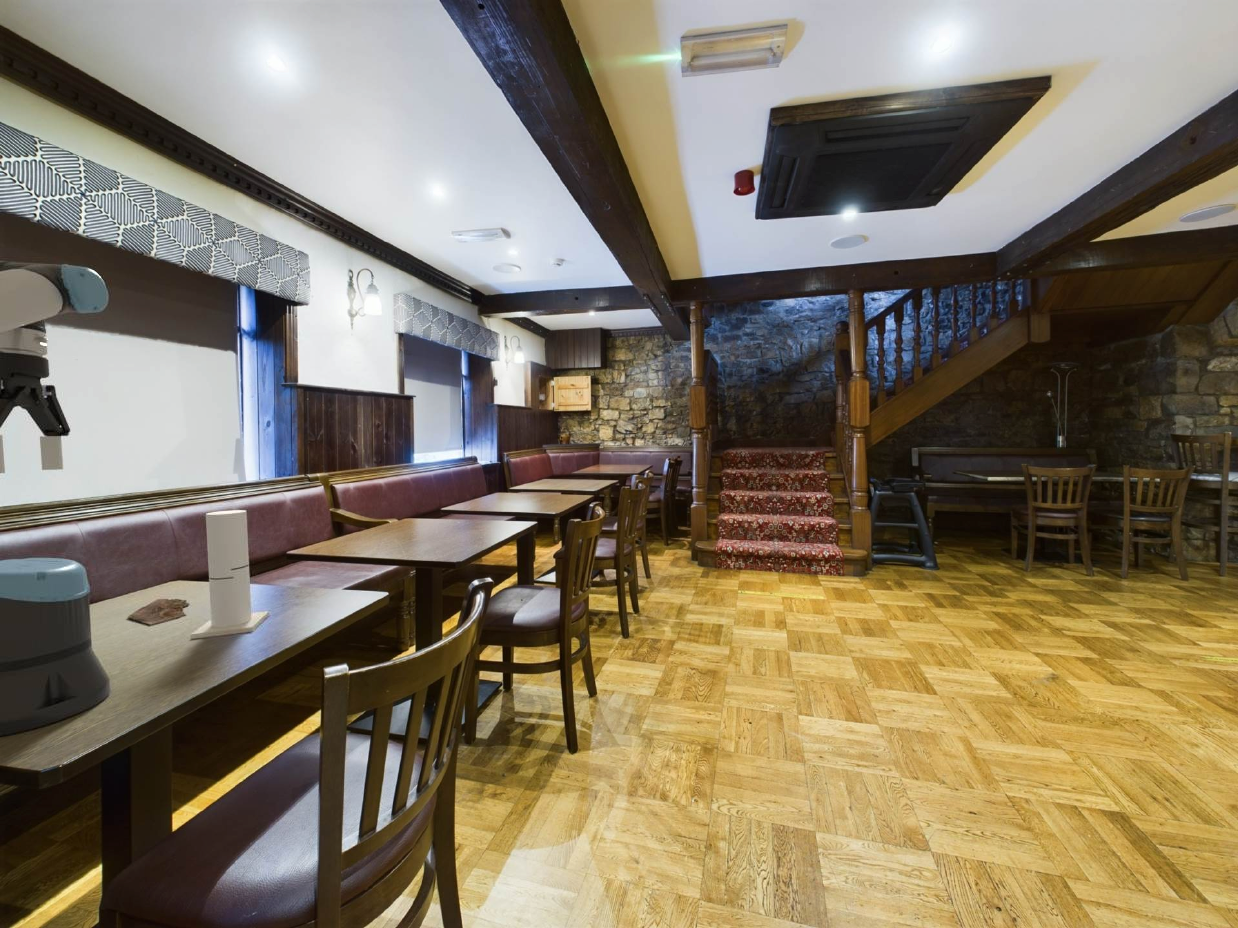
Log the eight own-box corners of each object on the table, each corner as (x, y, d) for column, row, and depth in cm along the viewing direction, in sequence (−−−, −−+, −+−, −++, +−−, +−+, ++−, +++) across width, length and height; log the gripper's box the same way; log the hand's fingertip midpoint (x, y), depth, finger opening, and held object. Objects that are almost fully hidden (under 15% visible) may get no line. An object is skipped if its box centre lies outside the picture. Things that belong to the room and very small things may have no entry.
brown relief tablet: (184, 621, 116) (184, 616, 116) (119, 632, 110) (119, 628, 110) (192, 595, 137) (192, 592, 137) (137, 604, 130) (137, 600, 130)
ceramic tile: (252, 631, 108) (252, 626, 108) (190, 638, 105) (190, 634, 105) (269, 615, 119) (269, 611, 119) (213, 621, 115) (213, 617, 115)
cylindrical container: (257, 619, 113) (252, 511, 112) (219, 630, 107) (213, 515, 106) (243, 614, 116) (238, 509, 115) (206, 624, 110) (200, 513, 109)
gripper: (-17, 341, 79) (-7, 474, 80) (90, 365, 102) (96, 467, 103) (-83, 339, 76) (-72, 476, 77) (42, 364, 100) (49, 468, 101)
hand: (24, 471), depth 90 cm, fingers open, 13 cm apart
